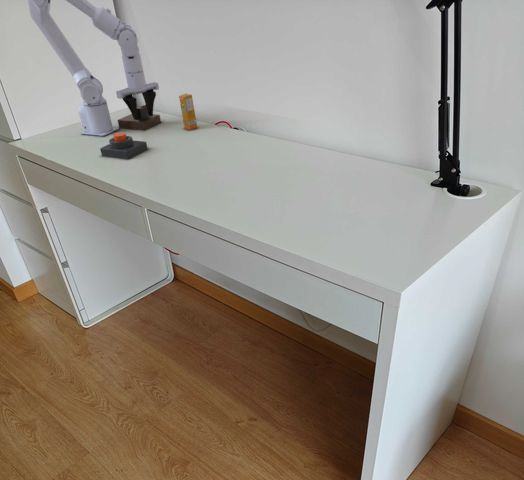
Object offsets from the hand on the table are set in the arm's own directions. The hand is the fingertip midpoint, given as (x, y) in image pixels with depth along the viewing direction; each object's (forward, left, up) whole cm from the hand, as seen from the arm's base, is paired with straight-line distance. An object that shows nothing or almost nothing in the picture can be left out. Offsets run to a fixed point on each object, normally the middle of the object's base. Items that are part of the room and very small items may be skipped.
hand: (143, 117), depth 165 cm
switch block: (+11, -24, -3) cm, 27 cm away
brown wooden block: (-3, +1, -3) cm, 4 cm away
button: (+11, -24, +1) cm, 27 cm away
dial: (0, 0, 0) cm, 0 cm away
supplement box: (+17, +2, -3) cm, 17 cm away
